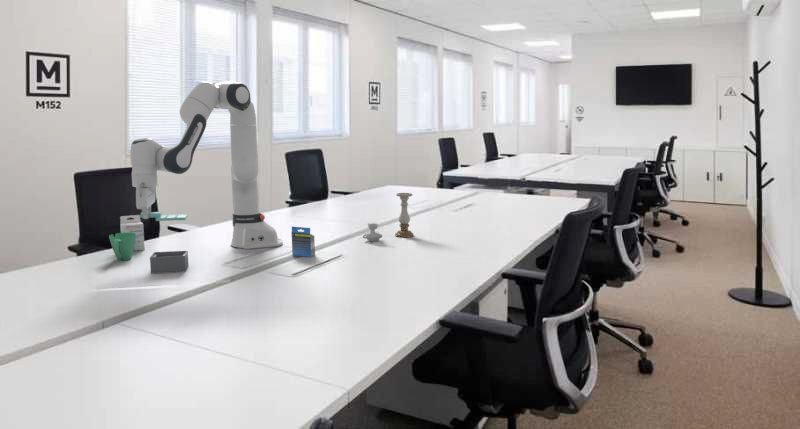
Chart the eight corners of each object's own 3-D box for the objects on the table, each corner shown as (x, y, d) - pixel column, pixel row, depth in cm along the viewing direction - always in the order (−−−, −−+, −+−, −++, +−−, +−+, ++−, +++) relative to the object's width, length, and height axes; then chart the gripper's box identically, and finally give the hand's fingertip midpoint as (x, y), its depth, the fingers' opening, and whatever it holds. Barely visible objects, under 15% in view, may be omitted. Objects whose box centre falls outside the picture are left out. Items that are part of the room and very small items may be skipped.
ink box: (123, 252, 263) (121, 217, 261) (121, 250, 267) (119, 216, 265) (145, 249, 268) (142, 216, 265) (142, 247, 272) (140, 214, 269)
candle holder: (393, 237, 295) (393, 194, 291) (396, 233, 303) (396, 192, 300) (412, 237, 293) (412, 195, 290) (414, 234, 302) (414, 192, 299)
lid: (187, 216, 245) (187, 210, 244) (185, 220, 237) (184, 213, 237) (143, 218, 241) (142, 211, 241) (139, 221, 234) (139, 214, 233)
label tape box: (315, 255, 257) (314, 226, 255) (310, 257, 253) (310, 227, 251) (296, 253, 260) (295, 224, 258) (291, 255, 256) (290, 226, 254)
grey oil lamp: (381, 239, 290) (381, 221, 289) (383, 242, 283) (383, 224, 282) (362, 240, 288) (361, 222, 287) (363, 242, 282) (363, 224, 281)
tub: (188, 267, 236) (187, 250, 235) (185, 273, 228) (184, 255, 226) (155, 269, 234) (154, 252, 233) (151, 275, 225) (149, 257, 224)
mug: (115, 256, 255) (113, 232, 253) (140, 256, 256) (138, 232, 255) (104, 265, 240) (102, 239, 239) (130, 264, 242) (129, 239, 240)
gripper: (148, 184, 226) (151, 221, 228) (157, 178, 246) (159, 213, 248) (130, 184, 225) (132, 222, 227) (140, 179, 245) (143, 213, 247)
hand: (147, 217), depth 238 cm, fingers closed on lid, 3 cm apart
